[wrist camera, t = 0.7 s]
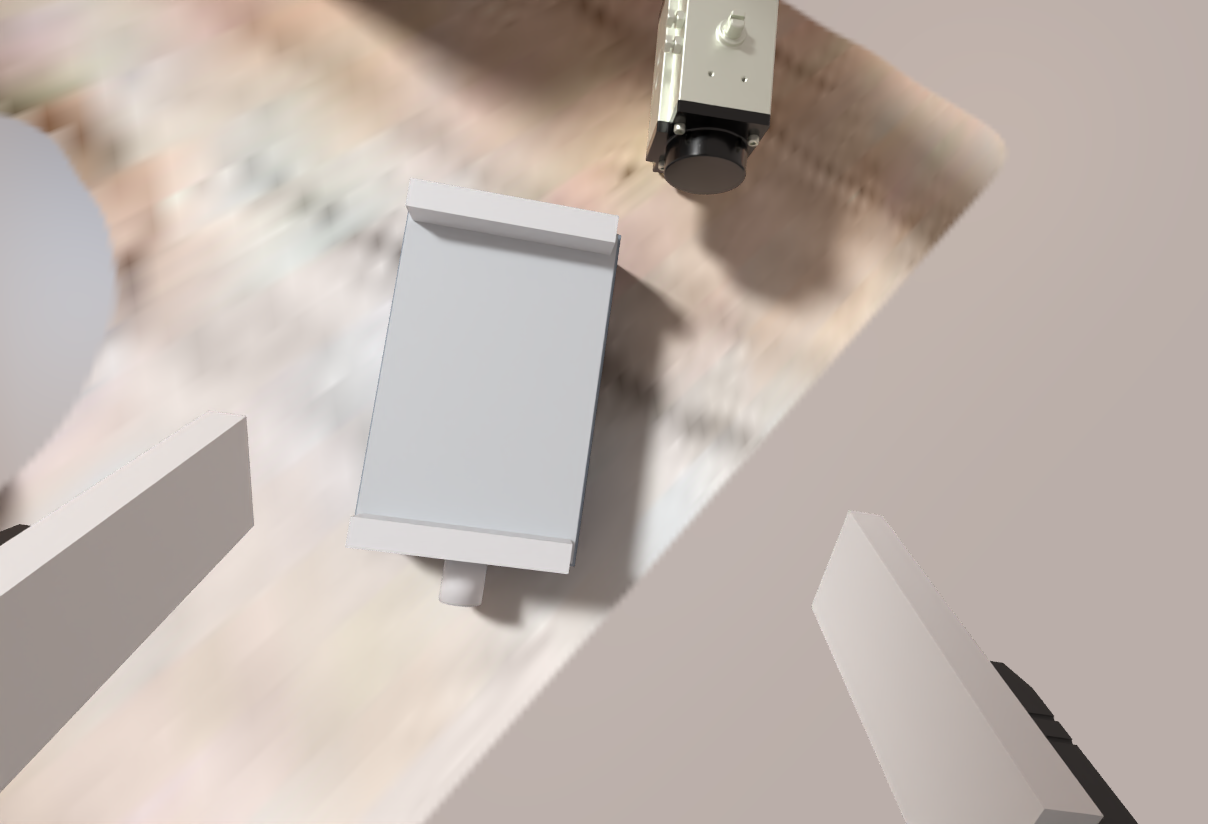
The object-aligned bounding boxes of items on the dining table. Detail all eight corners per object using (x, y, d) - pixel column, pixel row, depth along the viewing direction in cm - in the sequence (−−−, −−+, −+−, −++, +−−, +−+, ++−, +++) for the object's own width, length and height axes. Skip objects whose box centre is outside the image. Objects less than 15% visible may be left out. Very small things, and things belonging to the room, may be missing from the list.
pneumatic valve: (719, 70, 41) (793, -87, 30) (705, 235, 40) (777, 142, 29) (639, 57, 41) (683, -109, 29) (623, 224, 40) (662, 124, 28)
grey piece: (424, 227, 38) (400, 175, 31) (611, 260, 40) (628, 217, 33) (363, 580, 36) (323, 608, 29) (563, 603, 37) (569, 635, 31)
